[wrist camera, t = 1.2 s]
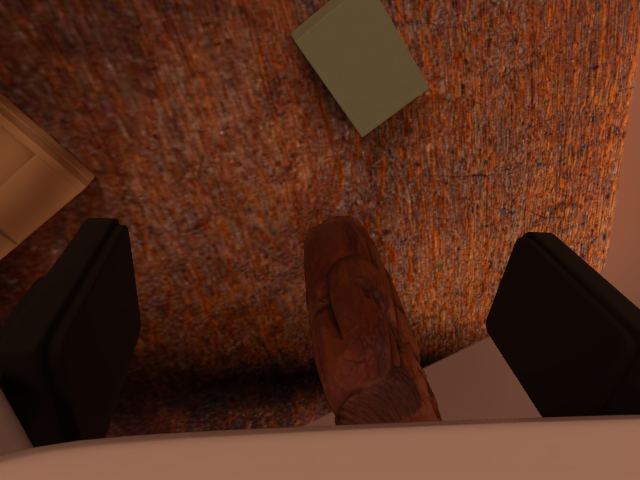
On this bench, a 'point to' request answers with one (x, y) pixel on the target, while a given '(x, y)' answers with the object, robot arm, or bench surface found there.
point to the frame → (32, 176)
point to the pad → (360, 60)
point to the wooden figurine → (361, 331)
